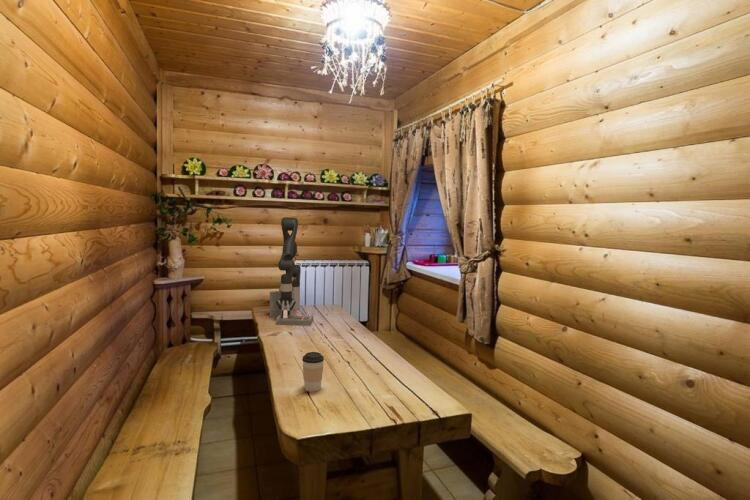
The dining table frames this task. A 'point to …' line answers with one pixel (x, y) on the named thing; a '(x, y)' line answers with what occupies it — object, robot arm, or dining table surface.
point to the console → (295, 320)
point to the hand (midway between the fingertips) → (286, 315)
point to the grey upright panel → (273, 306)
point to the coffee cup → (312, 371)
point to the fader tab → (285, 313)
